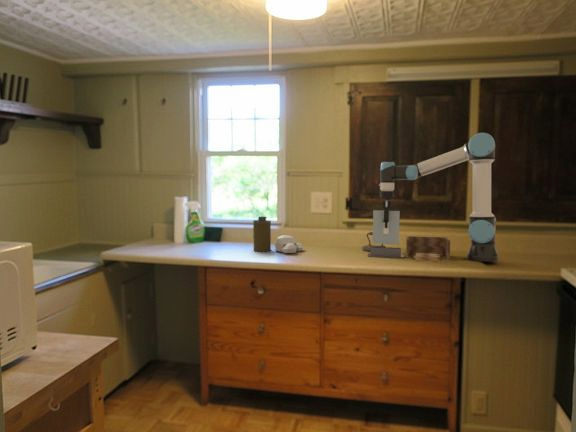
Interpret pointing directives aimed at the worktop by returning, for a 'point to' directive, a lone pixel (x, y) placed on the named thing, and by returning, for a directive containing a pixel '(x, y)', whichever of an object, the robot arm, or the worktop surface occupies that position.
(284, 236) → the rock
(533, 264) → the worktop surface
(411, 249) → the rack
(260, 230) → the canister
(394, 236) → the sheet
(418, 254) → the offcut top
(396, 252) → the grey block
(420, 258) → the offcut middle
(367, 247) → the clothes iron
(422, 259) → the offcut bottom
